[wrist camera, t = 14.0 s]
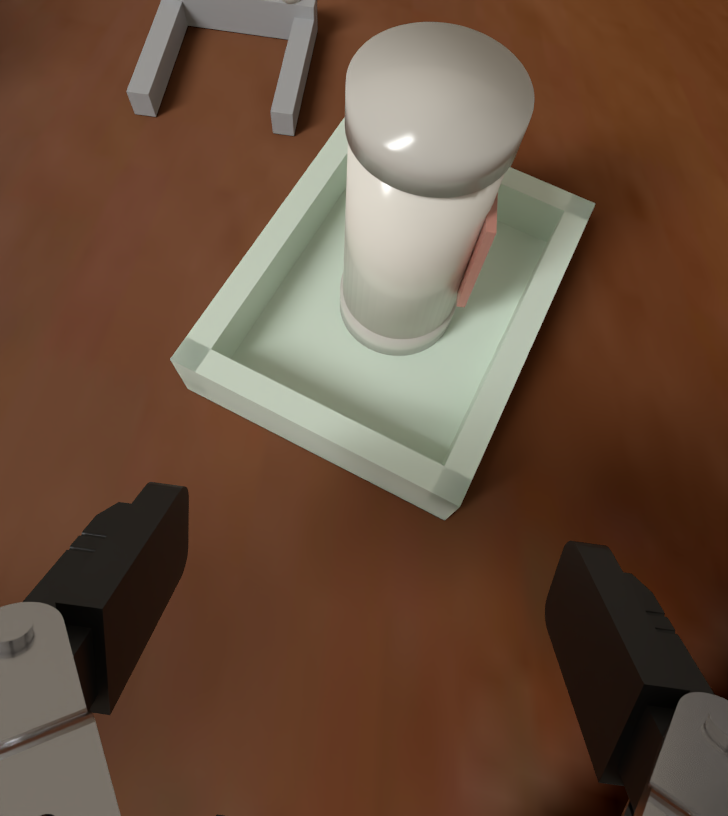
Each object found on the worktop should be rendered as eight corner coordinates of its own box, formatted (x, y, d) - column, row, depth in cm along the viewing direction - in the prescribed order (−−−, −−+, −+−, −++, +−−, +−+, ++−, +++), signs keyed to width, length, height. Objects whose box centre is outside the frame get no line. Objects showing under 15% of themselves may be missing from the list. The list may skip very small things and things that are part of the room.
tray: (353, 149, 27) (356, 101, 24) (570, 243, 25) (595, 203, 23) (187, 388, 22) (169, 359, 19) (444, 520, 20) (460, 506, 18)
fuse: (347, 251, 24) (357, 11, 14) (454, 265, 24) (534, 34, 14) (332, 348, 22) (333, 146, 13) (448, 362, 22) (533, 173, 13)
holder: (173, 10, 29) (160, -39, 27) (317, 30, 29) (316, -17, 27) (135, 113, 27) (117, 69, 24) (293, 135, 27) (290, 93, 24)
